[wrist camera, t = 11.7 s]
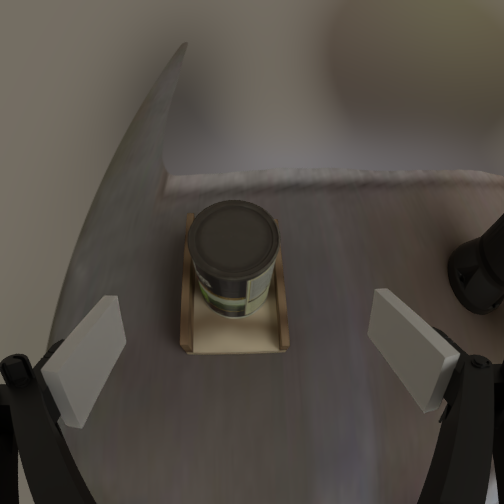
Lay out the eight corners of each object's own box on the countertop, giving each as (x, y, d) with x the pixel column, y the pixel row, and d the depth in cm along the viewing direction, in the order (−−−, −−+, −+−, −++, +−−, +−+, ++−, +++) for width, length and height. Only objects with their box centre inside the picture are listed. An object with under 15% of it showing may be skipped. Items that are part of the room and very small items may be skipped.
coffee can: (210, 328, 43) (198, 290, 30) (194, 266, 47) (179, 211, 35) (279, 308, 45) (294, 264, 32) (257, 249, 49) (263, 191, 37)
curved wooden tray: (285, 352, 43) (292, 342, 37) (187, 354, 42) (179, 344, 36) (274, 234, 53) (278, 211, 47) (192, 236, 52) (187, 213, 46)
